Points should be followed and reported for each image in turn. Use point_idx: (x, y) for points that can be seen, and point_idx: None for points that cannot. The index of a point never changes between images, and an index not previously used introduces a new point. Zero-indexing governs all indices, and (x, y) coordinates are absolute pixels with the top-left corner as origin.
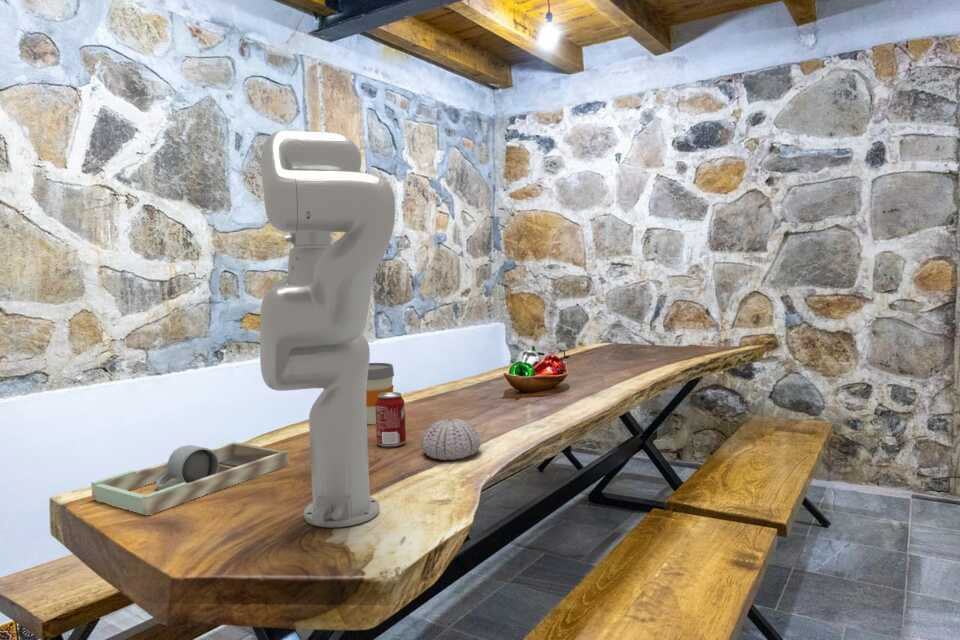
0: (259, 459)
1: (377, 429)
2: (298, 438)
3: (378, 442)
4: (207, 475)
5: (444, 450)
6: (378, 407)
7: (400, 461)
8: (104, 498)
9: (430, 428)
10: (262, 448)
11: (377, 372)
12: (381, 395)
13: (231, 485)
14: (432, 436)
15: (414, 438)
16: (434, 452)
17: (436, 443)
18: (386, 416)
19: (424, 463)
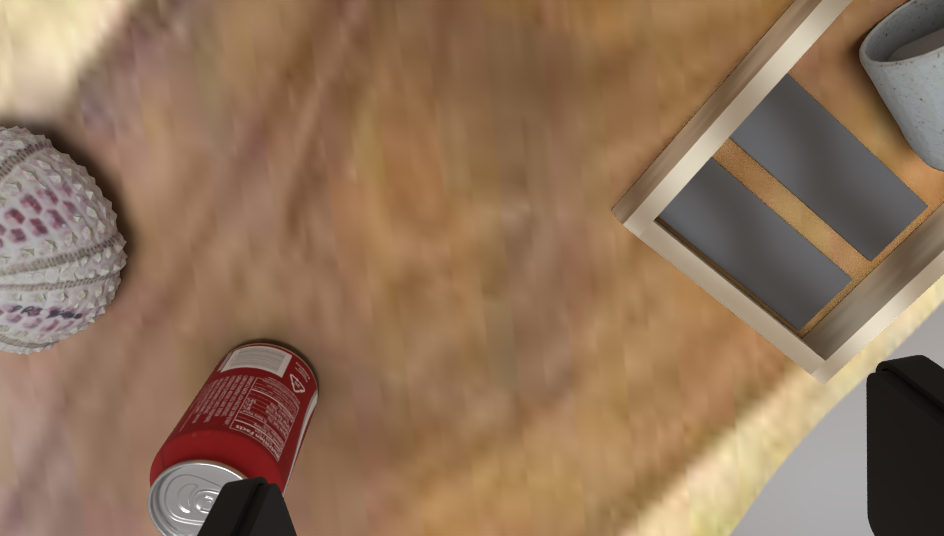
0: (721, 138)
1: (299, 398)
2: (602, 509)
3: (307, 370)
4: (890, 60)
5: (3, 129)
6: (267, 442)
7: (209, 177)
8: None
9: (41, 259)
10: (719, 283)
11: None
12: None
13: (792, 5)
14: (34, 196)
15: None
16: (56, 153)
17: (25, 159)
18: (241, 403)
19: (114, 134)
